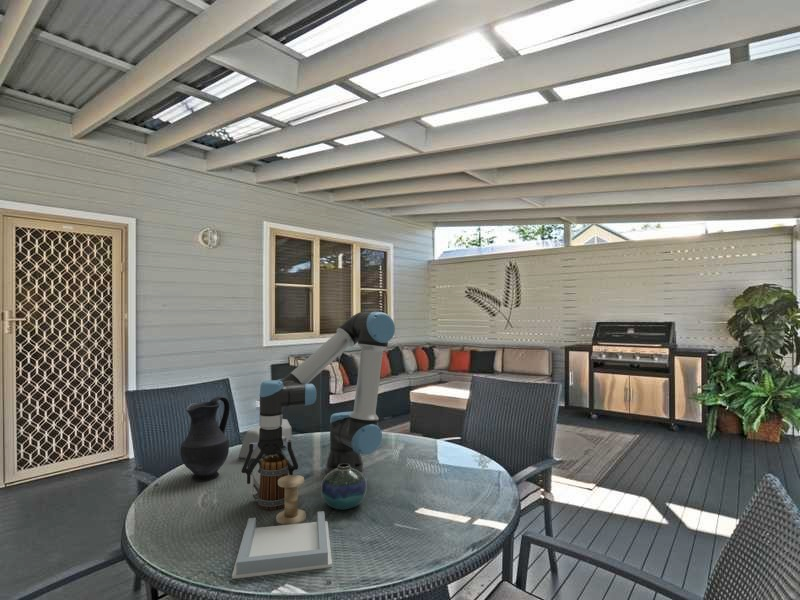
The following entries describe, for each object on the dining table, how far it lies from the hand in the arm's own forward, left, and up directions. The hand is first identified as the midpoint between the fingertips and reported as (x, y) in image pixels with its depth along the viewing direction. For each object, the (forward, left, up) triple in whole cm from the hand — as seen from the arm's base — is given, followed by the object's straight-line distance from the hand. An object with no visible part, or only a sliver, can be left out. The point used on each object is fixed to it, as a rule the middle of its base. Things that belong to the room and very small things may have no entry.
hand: (270, 491), depth 154 cm
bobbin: (-7, +14, -3) cm, 16 cm away
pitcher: (+26, -31, -4) cm, 41 cm away
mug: (+1, 0, -4) cm, 4 cm away
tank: (+4, -57, -4) cm, 58 cm away
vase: (-24, +8, -4) cm, 26 cm away
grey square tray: (-6, +32, -3) cm, 33 cm away
